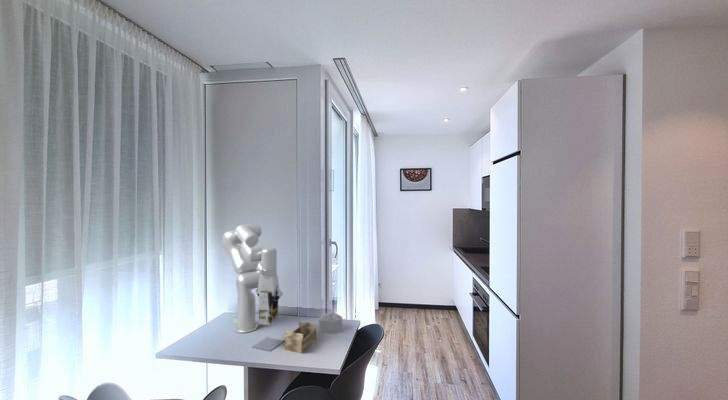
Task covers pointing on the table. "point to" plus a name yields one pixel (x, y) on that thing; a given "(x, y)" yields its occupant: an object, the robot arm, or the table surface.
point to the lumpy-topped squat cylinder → (330, 323)
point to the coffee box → (267, 308)
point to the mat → (268, 344)
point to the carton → (301, 337)
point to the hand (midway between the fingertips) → (268, 307)
